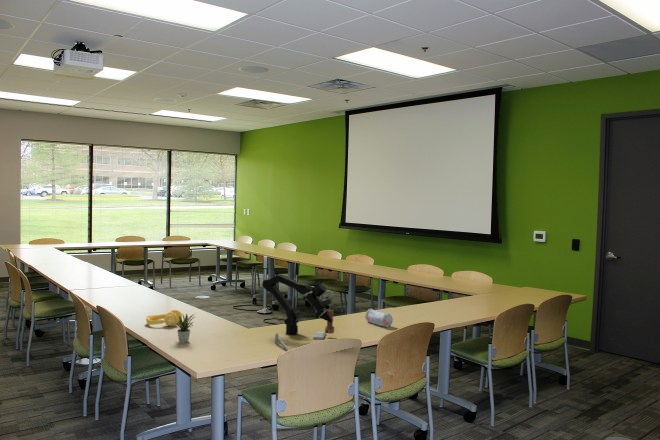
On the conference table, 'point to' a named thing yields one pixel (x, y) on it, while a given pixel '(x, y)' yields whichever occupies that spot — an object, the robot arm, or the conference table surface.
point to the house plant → (184, 328)
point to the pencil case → (378, 318)
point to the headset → (167, 318)
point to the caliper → (280, 342)
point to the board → (319, 335)
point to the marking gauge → (329, 327)
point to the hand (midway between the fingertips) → (332, 321)
